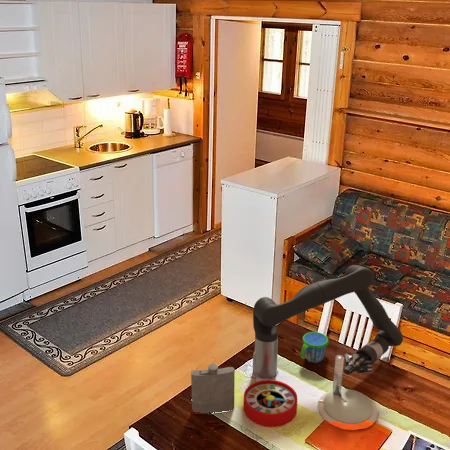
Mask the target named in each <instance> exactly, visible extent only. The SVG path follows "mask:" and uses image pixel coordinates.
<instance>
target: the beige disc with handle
mask: <svg viewBox="0 0 450 450" xmlns="http://www.w3.org/2000/svg"><path fill="white" fill-rule="evenodd" d="M334 359H335V361H334V371H333V380H332V381H333V383H332V390H333V391H331V390H330V391H331V392H329V391H328V392H329V393H328V394H327V395H326V396H325V397H324V402H323V407H324V410H325V412H326V413H327V414H328V415H329V416H330V417H331V418H333V419H335V420H337V421H339V422H342V423H347V424H357V423H361V422H365V421H366V420H368V419H369V418H370V417H371V415H372V410H373V406H372V403H371V401H370V400H369V399H368V398H367V397H368V396H367V395H366V394H364V393H362V392H360V391H357V390H354V389H350V388H342V385H343V375H344V364H345V355H342V354H336V355H335V357H334ZM365 395H366V396H367V397H366V396H365Z"/></svg>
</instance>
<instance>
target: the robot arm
mask: <svg viewBox="0 0 450 450" xmlns="http://www.w3.org/2000/svg"><path fill="white" fill-rule="evenodd" d="M374 280H375V275H374V272H373V271H372V270H371V269H370V268H368V267H365V266H362V265H358V264H352V265H348V267H347V268H346V269H345V271H344V275H343V276H342V277H339V278H330V279H324V280H318V281H315V282H312V283H310V284H308V285H305V286H303V287H302V288H300V290H299V291H298V292H297V293H296V294H295V295H294V296H293V297H292V298H291V299H290V300H288V301H284V302H282V303H279V304H277V303H276V302H275V301H274V300H273V299H272V298H271V297H267V296H263V297H261V298H259V299H257V301H256V302H255V304H254V306H253V311H252V312H253V313H252V318H253V319H252V321H253V324H252V325H253V331H254V352H253V354H252V374H254V375H255V376H257V377H258V378H260V379H264V380H269V379H272V378H274V377H275V376H276V375H277V373H278V372H277V371H278V352H279V351H278V346H279V330H278V329H279V328H277V325H280V324H281V323H283V322H285V321H287V320H290V319H291V318H293V317H294V316H297V315H299V314H302V313H304V312H306V311H308V310H311V309H314V308H316V307H320V306H322V305H325V304H326V303H329V302H331V301H333V300H336V299H339V298H341V297H343V296H345V295H349V294H352V293H355V295H356V297H357V298H358V299H359V300H360V302H361V304H362V306H363V308H364V310H366V312H367V315H368V316H369V318H370V321H371V322H372V324H373V327H374V328H375V329H376V330H379V331H378V332H377V333H376V335H375V336H374V338H373V339H372V340H371V341H370V342H367V343H366V344H365V345H363V346H362V347H361V348H359V349H358V350H357V351H356V352H355V353H353V354H351V355H349V354H348V353H344V364H345V367H343V374H345V375H347V376H349V375H352V373H355V372H357V373H358V374H362V373H364V374H365V373H372V372H373V365H374V363H376V362H377V361H378V360H379V359H380V358H381V357H382V356H383V355H385V353H388V352H387V351H388V350H389V348H390V347H398V346H401V345H402V344H403V342H404V336H403V333H402V331H401V329H399V327H398V326H397V325H396V324H395V323H394V322H393V321H392V320H391V319H390V317H389V315H388V313H387V310H386V309H385V307H384V306H383V305H382V303H381V302H380V300H379V299H377V297H376V296H375V295H374V293H373V291H371V289H370V286H372V285H373V283H374Z"/></svg>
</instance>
